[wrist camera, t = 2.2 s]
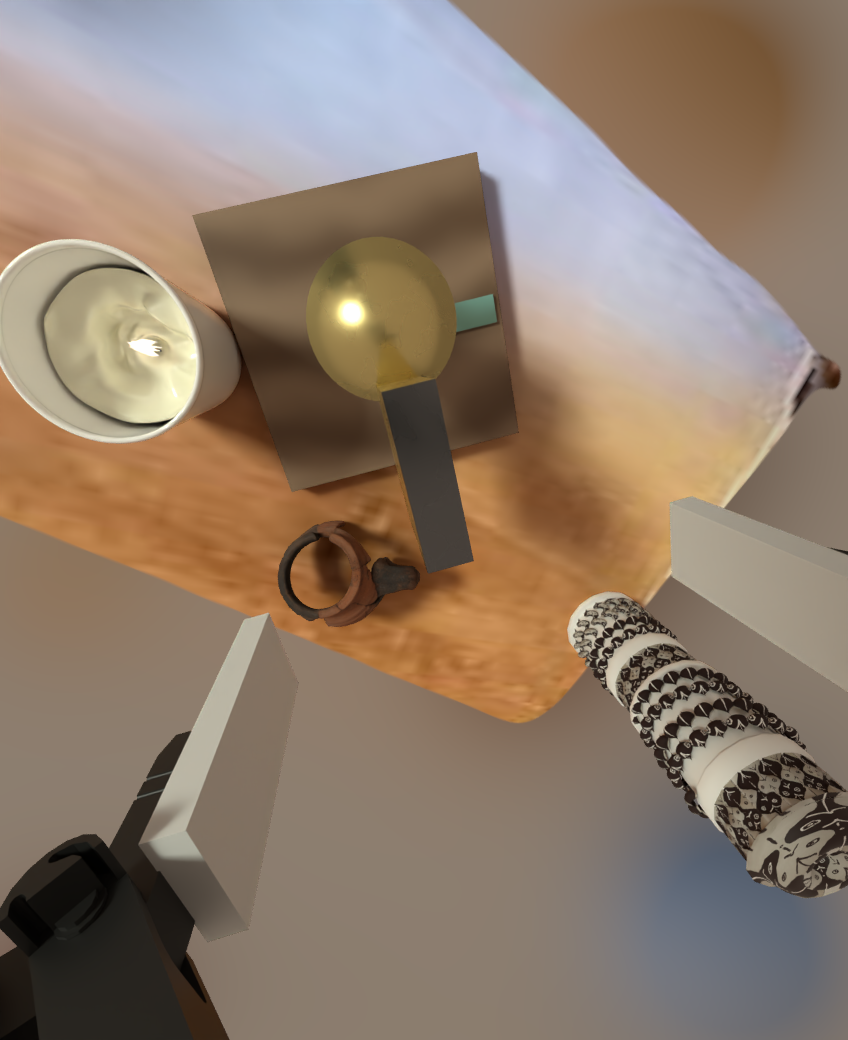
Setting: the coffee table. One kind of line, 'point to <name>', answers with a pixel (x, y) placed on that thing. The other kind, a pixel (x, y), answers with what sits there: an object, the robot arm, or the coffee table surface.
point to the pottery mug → (363, 585)
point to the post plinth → (283, 300)
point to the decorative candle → (720, 748)
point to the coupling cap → (397, 372)
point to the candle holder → (110, 343)
